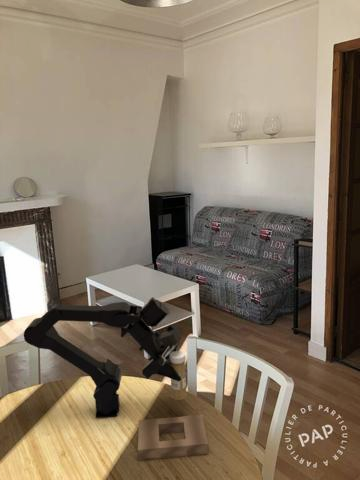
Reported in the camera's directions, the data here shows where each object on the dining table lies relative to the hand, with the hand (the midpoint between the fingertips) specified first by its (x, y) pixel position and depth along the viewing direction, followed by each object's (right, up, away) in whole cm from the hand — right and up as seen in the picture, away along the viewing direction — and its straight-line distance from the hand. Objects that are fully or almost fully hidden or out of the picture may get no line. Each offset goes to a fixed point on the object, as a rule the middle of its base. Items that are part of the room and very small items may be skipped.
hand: (182, 376), depth 121 cm
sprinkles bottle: (-1, -7, +2) cm, 7 cm away
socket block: (-3, -15, -8) cm, 17 cm away
